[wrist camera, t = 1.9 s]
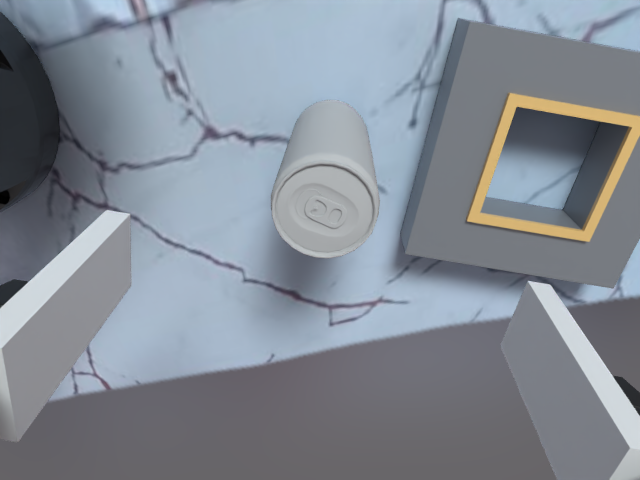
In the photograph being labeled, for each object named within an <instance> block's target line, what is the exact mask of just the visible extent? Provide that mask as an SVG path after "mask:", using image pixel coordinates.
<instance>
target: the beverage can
mask: <svg viewBox="0 0 640 480" xmlns="http://www.w3.org/2000/svg"><path fill="white" fill-rule="evenodd" d="M379 204H380V199H379V193H378V187H377V181H376V175H375V169H374V163H373V157H372V151H371V146H370V141H369V136H368V131H367V127H366V125H365V123H364V121H363V119H362V117H361V116H360V115H359V113H358V112H357V111H356V110H355V109H354V108H353V107H351V106H350V105H349V104H347V103H344V102H341V101H339V100H324V101H320V102H316V103H315V104H313V105H311V106H309V107H308V108H307V109H305V110H304V111H303V112H302V113H301V115H300V116H299V118H298V119H297V121H296V123H295V126H294V129H293V132H292V135H291V137H290V140H289V143H288V146H287V149H286V152H285V155H284V157H283V160H282V163H281V166H280V169H279V172H278V174H277V177H276V180H275V183H274V187H273V190H272V194H271V210H272V217H273V221H274V224H275V227H276V229H277V231H278V232H279V234H280V236H281V237H282V239H283V240H284V241H285V242H286V243H288V244H289V245H290V246H291V247H292V248H294V249H295V250H297V251H299V252H301V253H302V254H305V255H309V256H312V257H316V258H333V257H339V256H343V255H345V254H347V253H350V252H352V251H354V250H355V249H357V248H358V247H359V246H361V245H362V244H363V243H364V242H365V241H366V240H367V238H368V237H369V236H370V234H371V233H372V231H373V228H374V226H375V223H376V221H377V217H378V214H379Z"/></svg>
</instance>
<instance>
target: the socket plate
mask: <svg viewBox="0 0 640 480" xmlns="http://www.w3.org/2000/svg"><path fill="white" fill-rule="evenodd" d="M516 107H522V108H528V109H533V110H539V111H545V112H550V113H556V114H562V115H567V116H573V117H578V118H584V119H590V120H595V121H601V123H600V125H599V127H598V130H597V132H596V134H595V137H594V139H593V141H592V144H591V146H590V148H589V151H588V153H587V155H586V158H585V160H584V162H583V165H582V167H581V169H580V172H579V174H578V176H577V179H576V181H575V183H574V185H573V188H572V190H571V192H570V195H569V197H568V199H567V202H566V204H565V206H564V209H563V210H559V209H553V208H547V207H541V206H536V205H530V204H524V203H518V202H512V201H506V200H500V199H495V198H489V197H486V194H487V191H488V188H489V185H490V183H491V180H492V177H493V174H494V171H495V168H496V165H497V162H498V159H499V156H500V154H501V151H502V148H503V145H504V142H505V139H506V136H507V133H508V130H509V128H510V125H511V122H512V119H513V116H514V113H515V110H516ZM401 238H402V242H403V247H404V251H405V254H408V255H414V256H420V257H426V258H432V259H438V260H444V261H450V262H456V263H462V264H468V265H474V266H480V267H486V268H492V269H498V270H504V271H510V272H516V273H523V274H529V275H535V276H541V277H547V278H553V279H559V280H565V281H571V282H577V283H583V284H589V285H595V286H601V287H607V288H614V286H615V285H616V283H617V281H618V279H619V277H620V275H621V273H622V271H623V269H624V267H625V265H626V264H627V262H628V260H629V258H630V256H631V254H632V252H633V250H634V248H635V246H636V245H637V243H638V241H639V239H640V51H634V50H629V49H623V48H618V47H613V46H607V45H602V44H596V43H591V42H585V41H580V40H575V39H569V38H564V37H558V36H553V35H547V34H542V33H536V32H531V31H526V30H520V29H515V28H509V27H504V26H498V25H493V24H487V23H482V22H477V21H471V20H466V19H460V18H458V21H457V25H456V29H455V32H454V36H453V40H452V43H451V47H450V51H449V55H448V58H447V62H446V66H445V70H444V73H443V77H442V81H441V84H440V88H439V92H438V96H437V99H436V103H435V107H434V110H433V114H432V118H431V122H430V125H429V129H428V133H427V137H426V140H425V144H424V148H423V151H422V155H421V159H420V163H419V166H418V170H417V174H416V178H415V181H414V185H413V189H412V192H411V196H410V200H409V204H408V207H407V211H406V215H405V218H404V222H403V226H402V230H401Z"/></svg>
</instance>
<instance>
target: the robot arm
mask: <svg viewBox="0 0 640 480" xmlns="http://www.w3.org/2000/svg"><path fill="white" fill-rule="evenodd" d="M58 141H59V118H58V111H57V105H56V101H55V97H54V94H53V91H52V88H51V85H50V82H49V80H48V77H47V75H46V73H45V71H44V69H43V67H42V65H41V63H40V61H39V59H38V58H37V56H36V54H35V53H34V51H33V50H32V48H31V47H30V45H29V44H28V42H27V41H26V40H25V38H24V37H23V36H22V35H21V33H20V32H19V31H18V30H17V29H16V27H15V26H14V25H13V24H12V23H11V22H10V21H9V20H8V19H7V18H6V17H5V16H4V15H3V14H2V13H1V12H0V212H1V211H3V210H5V209H7V208H9V207H10V206H12V205H13V204H15V203H16V202H18V201H19V200H21V199H22V198H24V197H25V196H27V195H28V194H30V193H31V192H32V191H34V190H35V189H36V188H37V187H38V186H39V185H40V184H41V183H42V181H43V180H44V179H45V177H46V176H47V174H48V173H49V171H50V169H51V167H52V164H53V162H54V159H55V156H56V153H57V148H58ZM130 287H131V228H130V214H127V213H121V212H115V211H109V210H106V211H105V212H104V213H103V214H102V215H101V216H99V217H98V218H97V219H96V220H95V221H94V222H93V223H92V224H91V225H90V226H89V227H88V228H87V229H85V230H84V231H83V232H82V233H81V234H80V235H79V236H78V237H77V238H76V239H75V240H74V241H72V242H71V243H70V244H69V245H68V246H67V247H66V248H65V249H64V250H63V251H62V252H61V253H59V254H58V255H57V256H56V257H55V258H54V259H53V260H52V261H51V262H50V263H49V264H48V265H46V266H45V267H44V268H43V269H42V270H41V271H40V272H39V273H38V274H37V275H36V276H35V277H34V278H32V279H31V280H30V281H29V282H27V281H21V280H15V279H14V280H12V281H9V282H7V283H5V284H3V285H1V286H0V439H1V440H7V441H13V442H18V441H19V440H20V438H21V437H22V436H23V434H24V433H25V432H26V430H27V429H28V427H29V426H30V425H31V423H32V422H33V421H34V419H35V418H36V416H37V415H38V414H39V412H40V411H41V409H42V408H43V407H44V405H45V404H46V403H47V401H48V400H49V399H50V397H51V396H52V394H53V393H54V392H55V390H56V389H57V387H58V386H59V385H60V383H61V382H62V381H63V379H64V378H65V376H66V375H67V374H68V372H69V371H70V370H71V368H72V367H73V365H74V364H75V363H76V361H77V360H78V358H79V357H80V356H81V354H82V353H83V352H84V350H85V349H86V347H87V346H88V345H89V343H90V342H91V341H92V339H93V338H94V336H95V335H96V334H97V332H98V331H99V330H100V328H101V327H102V325H103V324H104V323H105V321H106V320H107V318H108V317H109V316H110V314H111V313H112V312H113V310H114V309H115V307H116V306H117V305H118V303H119V302H120V301H121V299H122V298H123V296H124V295H125V294H126V292H127V291H128V289H129V288H130ZM500 347H501V349H502V351H503V354H504V356H505V358H506V361H507V363H508V365H509V367H510V370H511V372H512V375H513V377H514V379H515V382H516V384H517V387H518V389H519V391H520V393H521V396H522V398H523V401H524V403H525V405H526V407H527V410H528V412H529V415H530V417H531V419H532V422H533V424H534V426H535V429H536V431H537V434H538V436H539V438H540V441H541V443H542V445H543V448H544V450H545V452H546V454H547V457H548V459H549V462H550V464H551V466H552V469H553V471H554V473H555V476H556V478H557V480H640V393H639V392H638V391H637V390H636V389H635V388H634V387H633V386H631V385H630V384H629V383H628V382H627V381H626V380H625V379H623V378H622V377H618V376H612V375H611V373H610V372H609V370H608V369H607V367H606V366H605V364H604V363H603V361H602V360H601V358H600V357H599V355H598V354H597V353H596V351H595V350H594V348H593V347H592V345H591V344H590V342H589V341H588V339H587V338H586V336H585V335H584V333H583V332H582V331H581V329H580V328H579V326H578V325H577V323H576V322H575V320H574V319H573V317H572V316H571V314H570V313H569V311H568V310H567V308H566V307H565V306H564V304H563V303H562V301H561V300H560V298H559V297H558V295H557V294H556V292H555V291H554V289H553V288H552V286H551V285H550V284H544V283H538V282H532V281H527V283H526V286H525V288H524V291H523V293H522V295H521V298H520V300H519V302H518V305H517V307H516V310H515V312H514V314H513V317H512V319H511V321H510V324H509V326H508V329H507V331H506V333H505V336H504V338H503V340H502V343H501V345H500Z"/></svg>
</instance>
